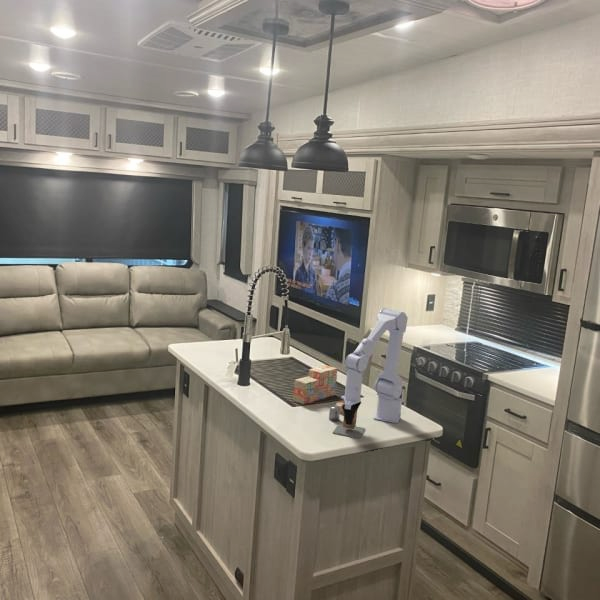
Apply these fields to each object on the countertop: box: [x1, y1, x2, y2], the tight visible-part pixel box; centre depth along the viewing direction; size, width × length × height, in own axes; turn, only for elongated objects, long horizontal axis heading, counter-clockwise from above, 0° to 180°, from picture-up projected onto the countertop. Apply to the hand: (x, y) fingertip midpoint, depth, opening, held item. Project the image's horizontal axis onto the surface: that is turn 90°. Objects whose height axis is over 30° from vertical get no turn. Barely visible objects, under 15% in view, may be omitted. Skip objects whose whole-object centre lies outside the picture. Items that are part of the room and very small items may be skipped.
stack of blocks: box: [292, 364, 338, 405], centre depth 256 cm, size 21×6×12 cm, turn 140°
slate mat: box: [332, 422, 366, 439], centre depth 222 cm, size 10×10×1 cm
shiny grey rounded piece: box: [328, 405, 341, 423], centre depth 232 cm, size 4×4×5 cm
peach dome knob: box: [335, 402, 345, 415], centre depth 242 cm, size 5×5×3 cm
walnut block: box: [342, 410, 358, 429], centre depth 221 cm, size 4×4×6 cm
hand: (349, 422), depth 221 cm, fingers closed on walnut block, 4 cm apart
